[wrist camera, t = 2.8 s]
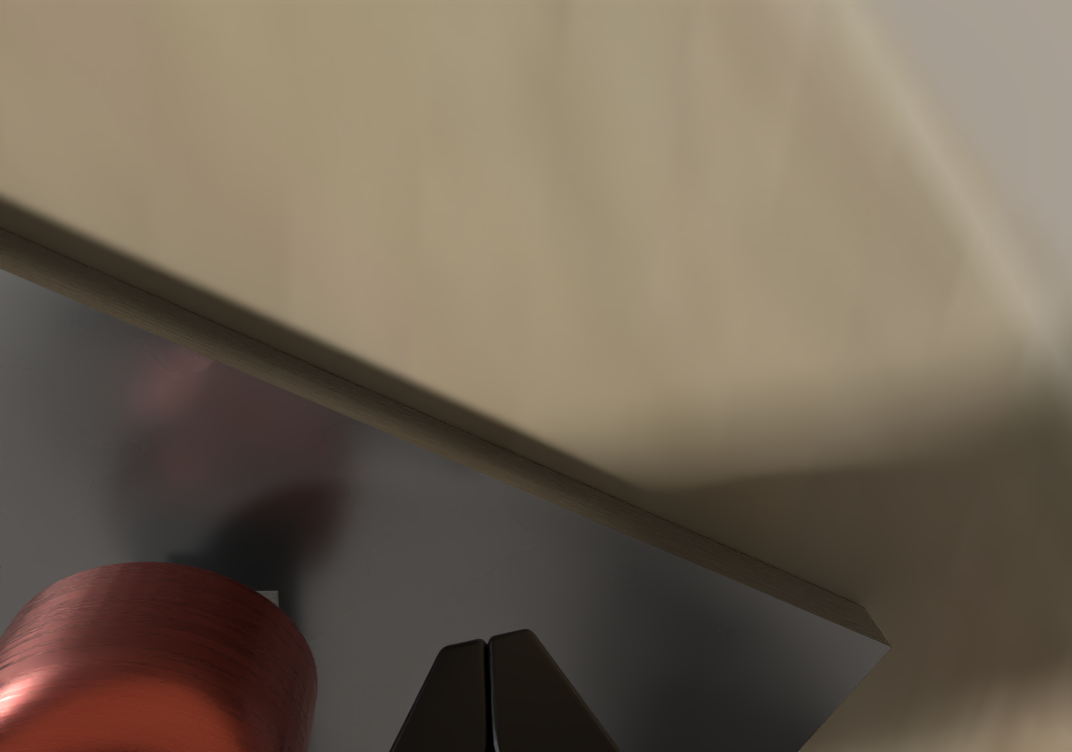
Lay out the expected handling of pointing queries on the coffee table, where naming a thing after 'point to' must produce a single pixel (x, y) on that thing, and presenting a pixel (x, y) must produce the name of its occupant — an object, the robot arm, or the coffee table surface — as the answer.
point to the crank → (155, 666)
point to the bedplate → (381, 529)
